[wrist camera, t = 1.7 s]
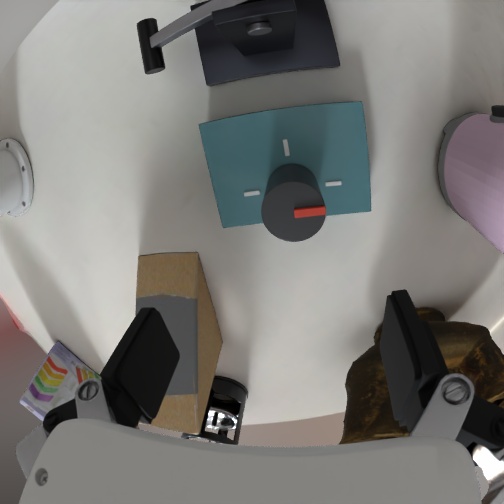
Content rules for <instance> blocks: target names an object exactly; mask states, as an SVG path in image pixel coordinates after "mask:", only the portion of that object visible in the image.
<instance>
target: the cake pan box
mask: <svg viewBox="0 0 504 504" xmlns="http://www.w3.org/2000/svg"><path fill="white" fill-rule="evenodd" d="M88 378H96V379H98V380H100V381H101V379H102V378H101V377H100V376H99V375H97V374H96V373H95V372H94V371H92V370H91V369H90V368H89V367H87V366H86V365H85V364H84V363H83V362H81V361H80V360H79V359H78V358H77V357H75V356H74V355H73V354H72V353H71V352H70V351H69V350H67V349H66V348H65V347H64V346H63V345H62V344H61V343H60V342H57V343H56V344H55V345H54V346H53V347H52V349H51V350H50V352H49V353H48V355H47V356H46V358H45V360H44V361H43V363H42V364H41V366H40V367H39V369H38V370H37V372H36V373H35V375H34V377H33V379H32V380H31V382H30V384H29V386H28V387H27V389H26V391H25V392H24V394H23V396H22V398H21V399H20V403H21V404H22V405H24V406H25V407H26V408H27V409H28V410H29V411H31V412H32V413H33V414H35V415H36V416H37V417H38V418H40V419H41V420H42V421H43V420H44V417H45V415H46V414H47V413H48V412H49V411H50V410H52V409H53V408H55V407H58V406H60V405H62V404H64V403H66V402H68V401H70V400H72V399H74V398H75V391H76V389H77V387H78V385H79V384H80V383H81V382H82V381H84V380H86V379H88Z"/></svg>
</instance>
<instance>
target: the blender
mask: <svg viewBox="0 0 504 504" xmlns="http://www.w3.org/2000/svg"><path fill="white" fill-rule="evenodd" d="M491 109H492V115H490V114H486V113H479V112H473V113H468V114H465V115H463V116H462V117H460V118H458V119H452V120H451V121H450V122H449V123H448V124H447V125H446V127H445V128H444V130H443V132H444V133H445V134H446V135H445V137H444V140H443V142H442V146H441V149H440V154H439V163H438V173H439V182H440V186H441V190H442V193H443V195H444V198H445V200H446V202H447V203H448V205H449V206H450V207H451V209H452V210H453V211H454V212H455V213H457V214H458V215H459V216H460V217H461V218H463V219H464V220H466V221H468V222H469V223H470V224H471V225H472V226H473V227H474V228H475V229H476V230H478V231H479V232H480V233H481V234H482V235H483V236H484V237H485V238H486V239H487V240H488V241H490V242H491V243H492V244H493V245H494V246H495V247H496V248H497V249H498V250H499V251H501V252H502V253H503V254H504V106H501V105H496V106H492V107H491Z"/></svg>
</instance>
